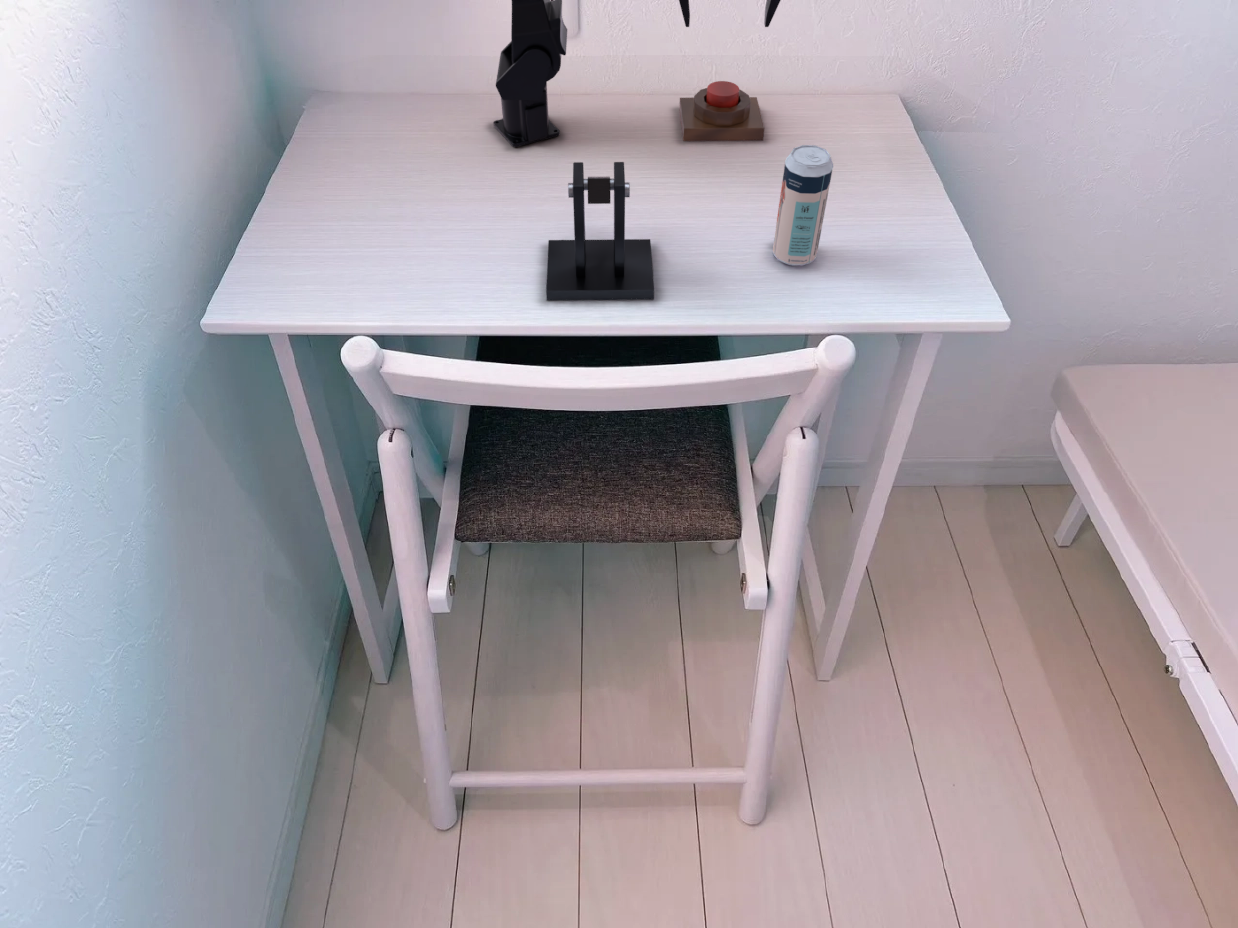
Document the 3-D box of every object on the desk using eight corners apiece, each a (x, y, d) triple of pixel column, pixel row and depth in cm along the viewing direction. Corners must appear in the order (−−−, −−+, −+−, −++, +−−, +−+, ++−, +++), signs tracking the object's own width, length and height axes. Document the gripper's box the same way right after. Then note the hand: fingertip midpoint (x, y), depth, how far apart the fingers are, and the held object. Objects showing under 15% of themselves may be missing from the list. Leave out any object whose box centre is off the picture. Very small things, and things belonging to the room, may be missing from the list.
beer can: (797, 238, 108) (813, 138, 99) (825, 260, 105) (845, 159, 97) (762, 252, 106) (776, 151, 98) (791, 274, 104) (807, 172, 95)
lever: (575, 196, 106) (575, 172, 105) (622, 195, 106) (621, 172, 105) (573, 204, 95) (572, 178, 94) (624, 203, 95) (624, 178, 95)
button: (707, 109, 121) (708, 96, 120) (704, 94, 124) (705, 81, 123) (739, 109, 122) (741, 96, 120) (736, 94, 124) (737, 80, 123)
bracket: (549, 249, 107) (543, 150, 98) (650, 248, 107) (653, 149, 98) (546, 300, 100) (540, 199, 92) (653, 299, 101) (657, 198, 92)
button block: (683, 141, 122) (684, 114, 120) (679, 110, 128) (680, 84, 125) (762, 140, 122) (766, 114, 120) (755, 109, 128) (758, 83, 125)
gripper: (651, -97, 97) (648, 57, 109) (838, -98, 97) (816, 57, 109) (649, -133, 105) (646, 14, 116) (823, -134, 105) (803, 14, 116)
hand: (726, 26), depth 114 cm, fingers open, 9 cm apart
